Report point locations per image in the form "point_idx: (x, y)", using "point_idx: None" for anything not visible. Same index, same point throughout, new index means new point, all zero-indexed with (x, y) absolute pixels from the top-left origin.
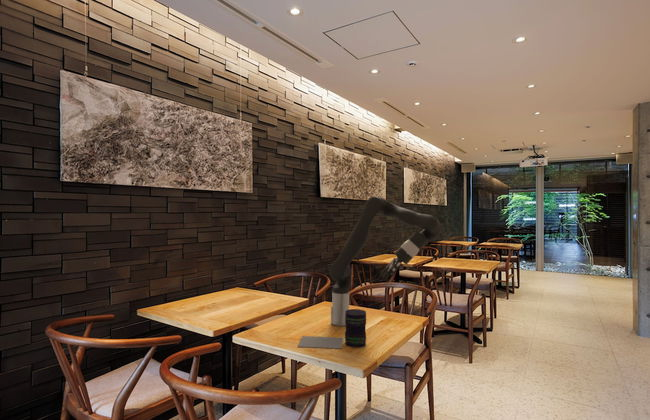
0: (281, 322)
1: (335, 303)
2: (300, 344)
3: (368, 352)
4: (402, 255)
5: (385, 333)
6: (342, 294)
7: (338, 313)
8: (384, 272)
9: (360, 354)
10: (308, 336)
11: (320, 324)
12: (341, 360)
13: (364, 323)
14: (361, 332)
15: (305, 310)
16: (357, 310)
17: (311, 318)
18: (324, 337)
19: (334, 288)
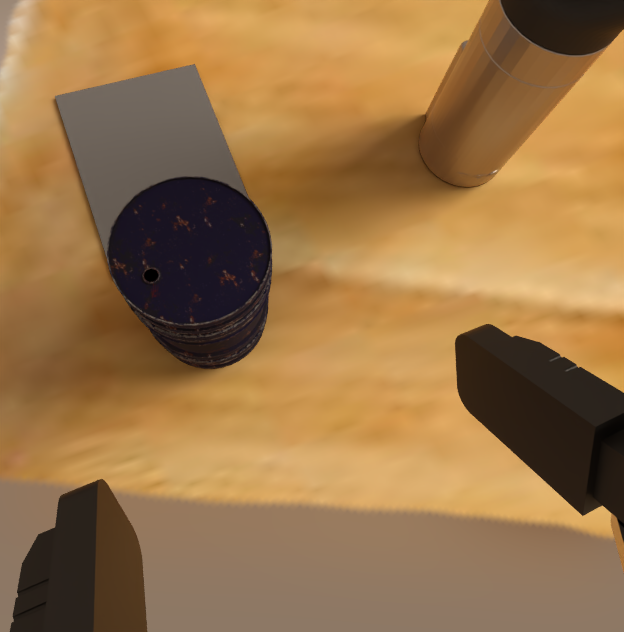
0: None
1: (466, 47)
2: (83, 97)
3: (123, 417)
4: None
5: (444, 404)
6: (513, 32)
7: (444, 109)
8: (513, 400)
9: (78, 389)
10: (201, 89)
11: (395, 74)
12: None
13: (181, 340)
14: (168, 340)
15: None
16: (244, 244)
17: (452, 11)
18: (222, 155)
19: None
